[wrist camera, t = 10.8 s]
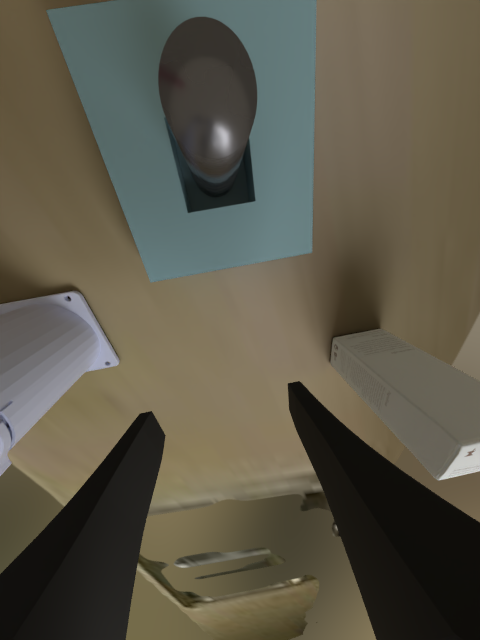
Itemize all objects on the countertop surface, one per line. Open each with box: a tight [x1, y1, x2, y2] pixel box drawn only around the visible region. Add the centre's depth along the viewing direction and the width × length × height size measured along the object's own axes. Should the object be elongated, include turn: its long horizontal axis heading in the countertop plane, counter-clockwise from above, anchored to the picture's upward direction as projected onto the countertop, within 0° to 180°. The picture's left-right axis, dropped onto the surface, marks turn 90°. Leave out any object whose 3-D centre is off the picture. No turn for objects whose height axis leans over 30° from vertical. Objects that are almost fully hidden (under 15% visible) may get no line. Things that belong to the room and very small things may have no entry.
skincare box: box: [330, 329, 480, 480], centre depth 16 cm, size 6×4×12 cm
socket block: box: [46, 0, 316, 282], centre depth 12 cm, size 12×12×3 cm
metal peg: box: [158, 17, 257, 197], centre depth 9 cm, size 3×3×8 cm
